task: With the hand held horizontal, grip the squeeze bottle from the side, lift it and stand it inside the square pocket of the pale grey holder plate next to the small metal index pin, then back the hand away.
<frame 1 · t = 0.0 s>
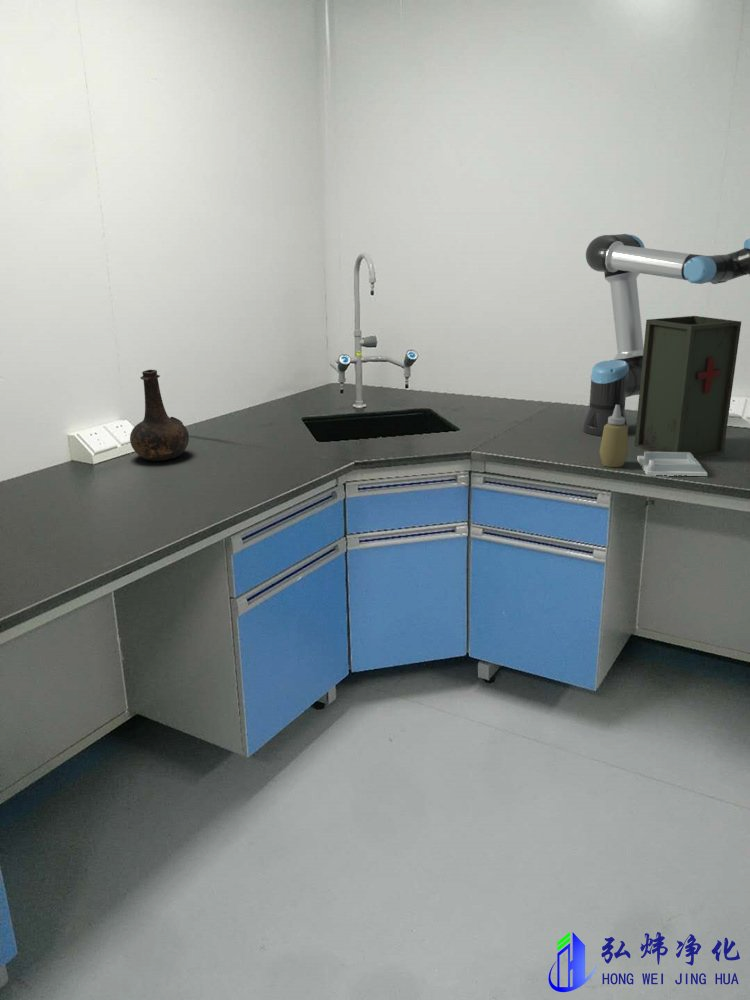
glass bottle: (162, 458, 242), on the worktop
holder plate: (670, 468, 219), on the worktop
squeeze bottle: (612, 465, 223), on the worktop
first aid box: (677, 451, 237), on the worktop, touching holder plate
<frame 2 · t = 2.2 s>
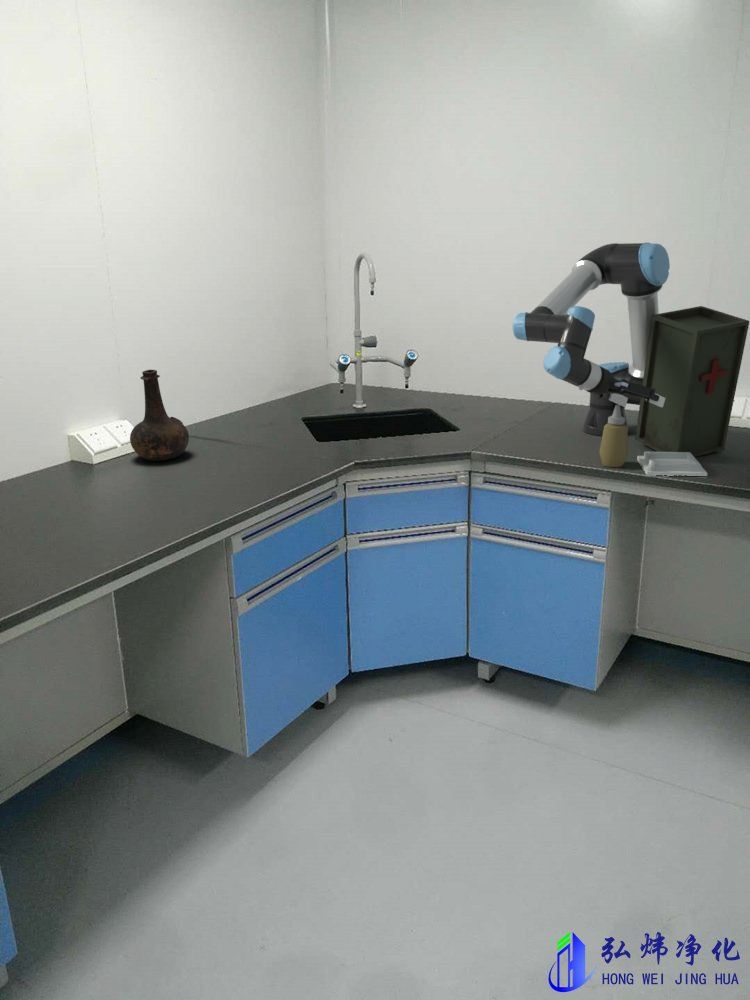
hand: (644, 402, 216), 19 cm above the worktop, tool tilted 65°, fingers open, 13 cm apart
first aid box: (678, 444, 236), point 1 cm above the worktop, touching holder plate
everything else where it was.
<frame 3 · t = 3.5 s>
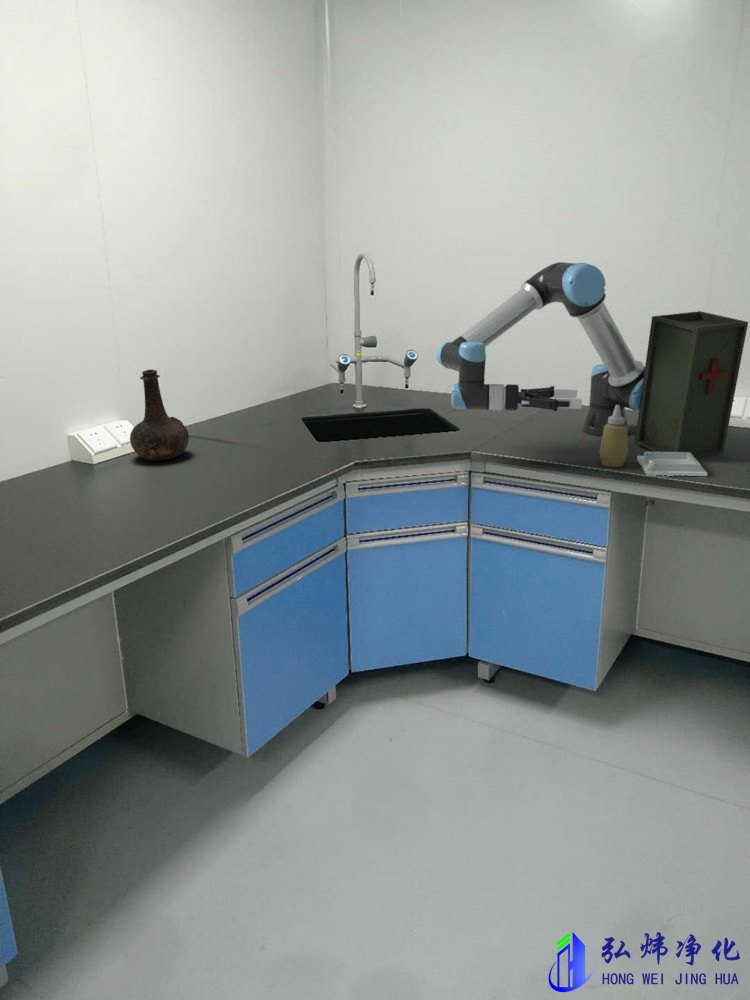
hand: (579, 398, 218), 20 cm above the worktop, tool horizontal, fingers open, 13 cm apart
first aid box: (678, 448, 237), on the worktop, touching arm, holder plate
everything else where it was.
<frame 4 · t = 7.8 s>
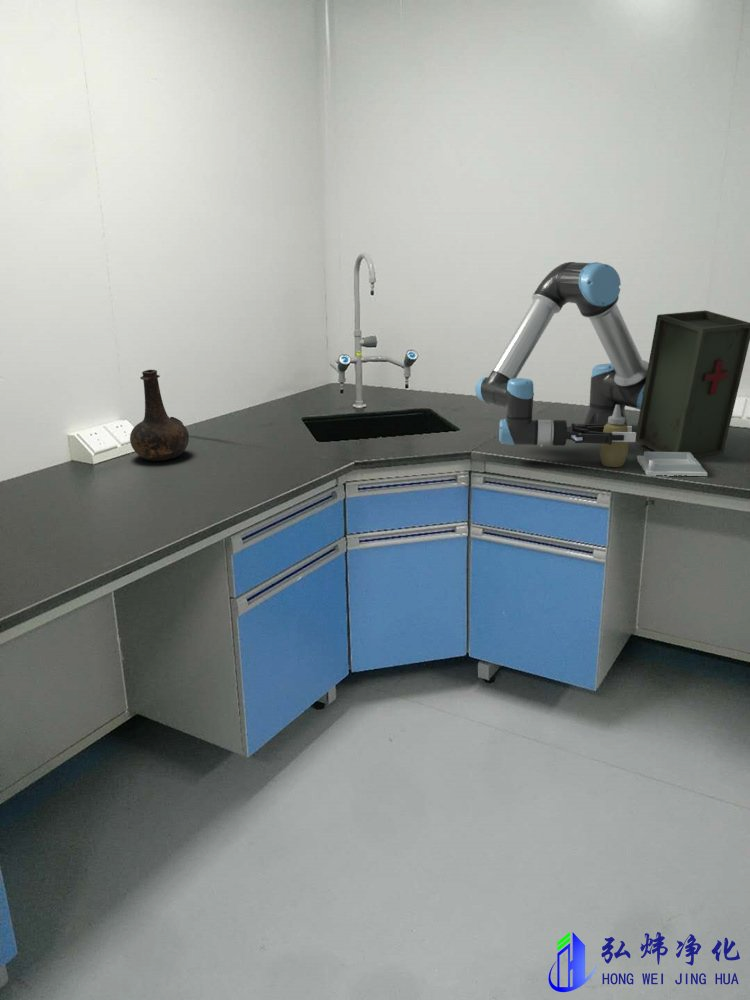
hand: (633, 433, 219), 10 cm above the worktop, tool horizontal, fingers closed on squeeze bottle, 6 cm apart
squeeze bottle: (612, 465, 223), on the worktop, touching gripper
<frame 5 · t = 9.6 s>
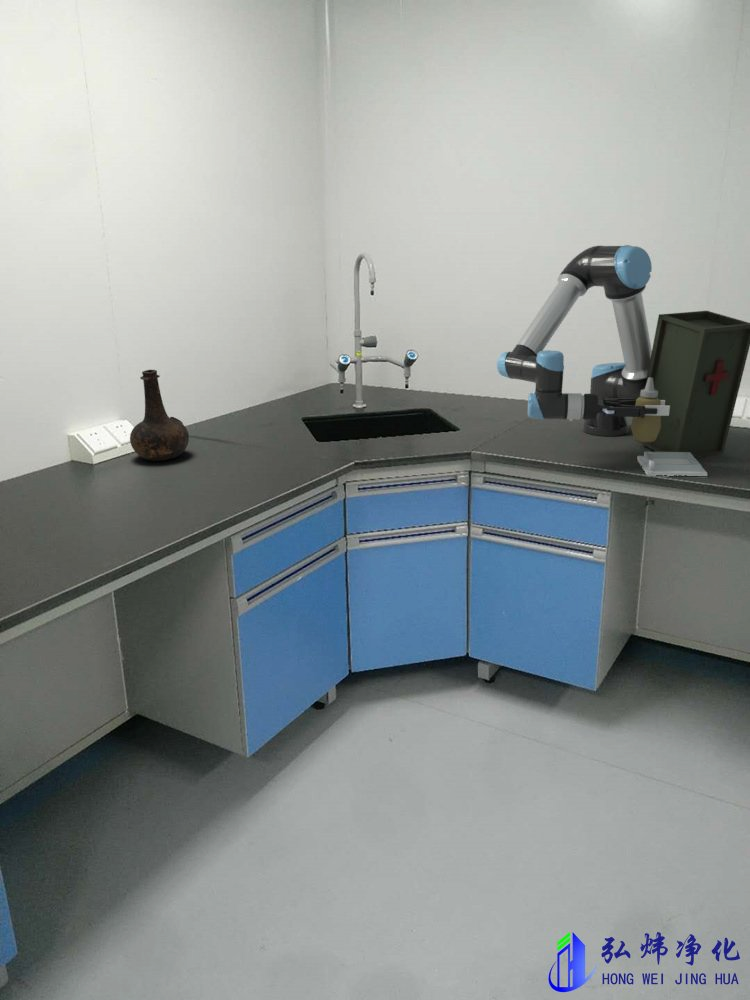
hand: (666, 407, 213), 18 cm above the worktop, tool horizontal, fingers closed on squeeze bottle, 6 cm apart
squeeze bottle: (644, 440, 217), point 8 cm above the worktop, touching gripper
first aid box: (677, 447, 236), on the worktop, touching holder plate
everything else where it was.
when the fingers open (12 cm above the worktop, at t = 11.8 s): squeeze bottle drops 2 cm, resting on holder plate.
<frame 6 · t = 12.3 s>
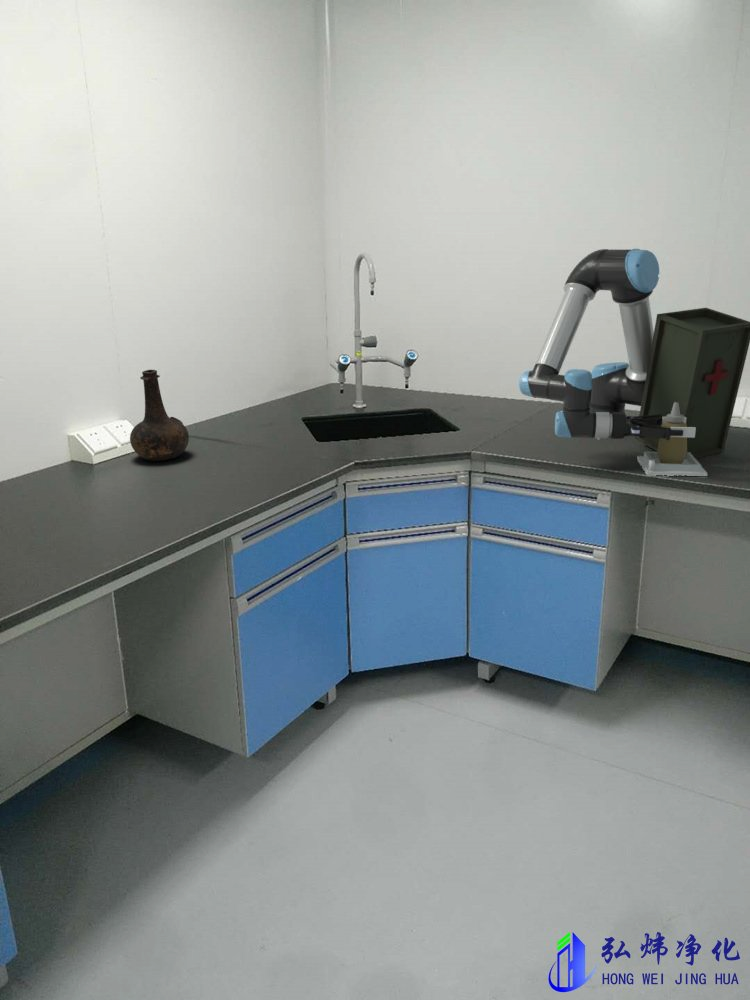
hand: (690, 427, 213), 12 cm above the worktop, tool horizontal, fingers open, 11 cm apart
squeeze bottle: (670, 464, 218), point 1 cm above the worktop, touching holder plate
first aid box: (678, 445, 236), point 1 cm above the worktop, touching arm, gripper, holder plate
everything else where it was.
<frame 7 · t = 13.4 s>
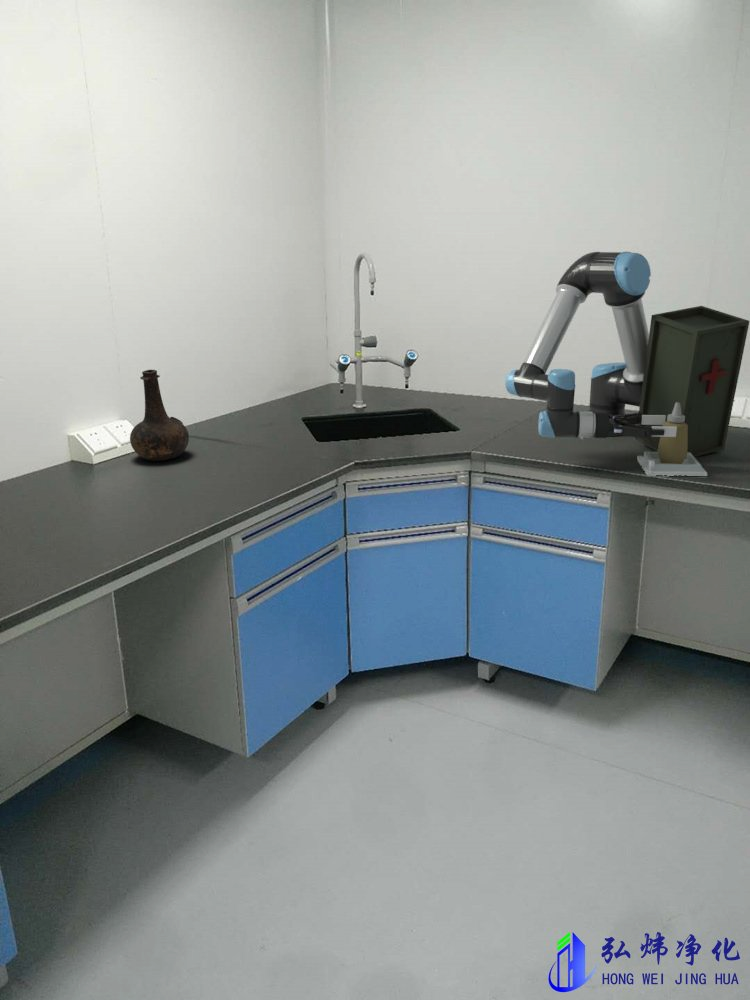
hand: (670, 425, 214), 13 cm above the worktop, tool horizontal, fingers open, 13 cm apart
first aid box: (678, 444, 236), point 2 cm above the worktop, touching holder plate
everything else where it was.
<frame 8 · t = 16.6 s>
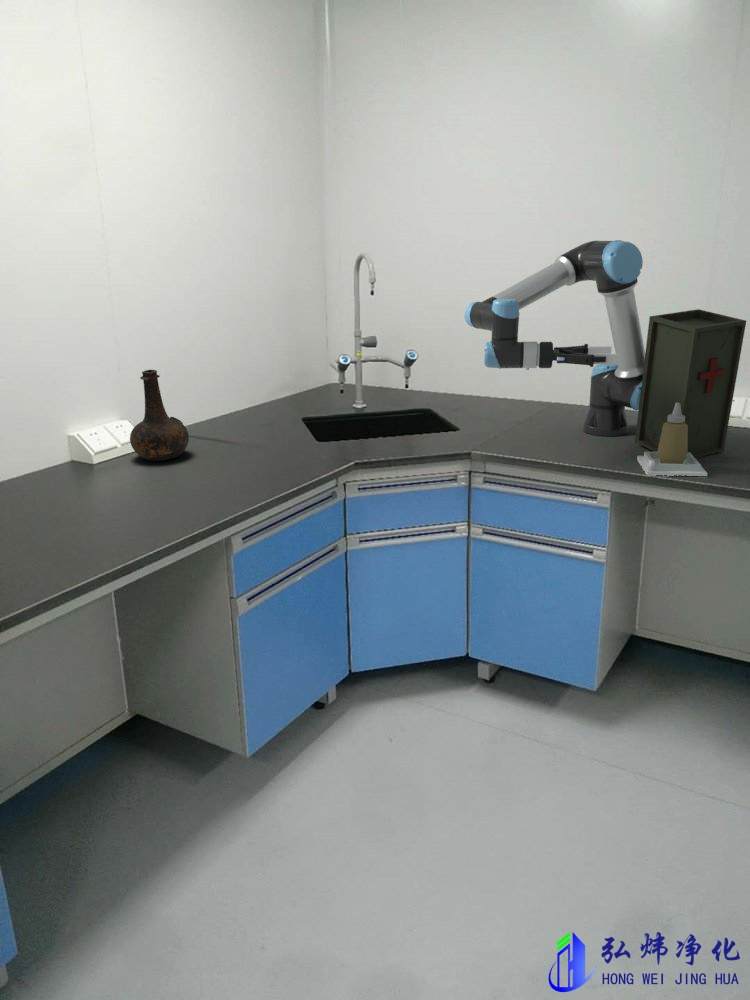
hand: (614, 355, 214), 32 cm above the worktop, tool horizontal, fingers open, 13 cm apart
first aid box: (678, 447, 236), point 1 cm above the worktop, touching arm, holder plate
everything else where it was.
at the end: squeeze bottle inside the target area on the holder plate (0.1 cm from its centre), point 1.0 cm above the holder plate's base; squeeze bottle tilted 0°; the gripper is holding nothing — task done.
